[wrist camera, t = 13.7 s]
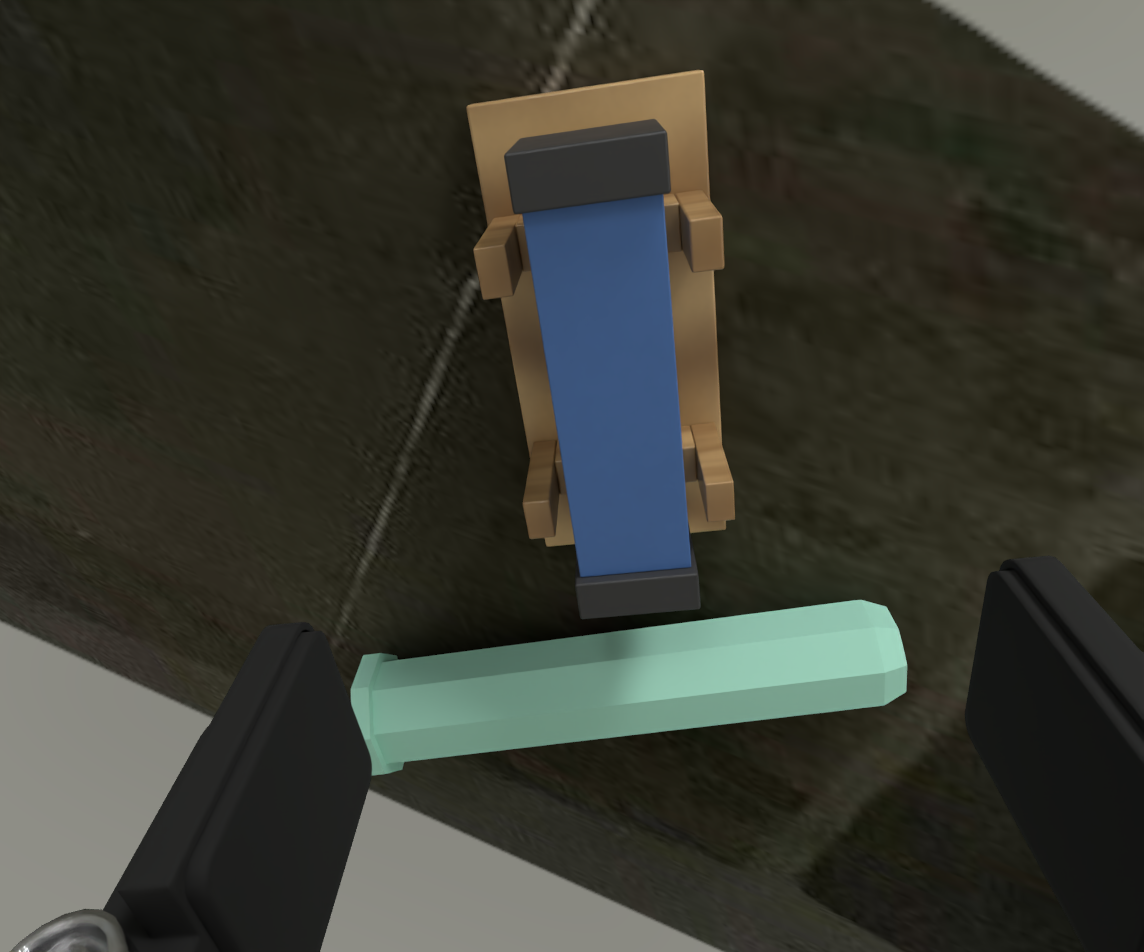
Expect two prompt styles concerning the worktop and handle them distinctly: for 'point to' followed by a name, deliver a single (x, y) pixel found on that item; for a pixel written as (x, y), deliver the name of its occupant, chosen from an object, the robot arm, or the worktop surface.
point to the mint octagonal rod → (629, 682)
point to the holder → (690, 270)
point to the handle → (611, 358)
